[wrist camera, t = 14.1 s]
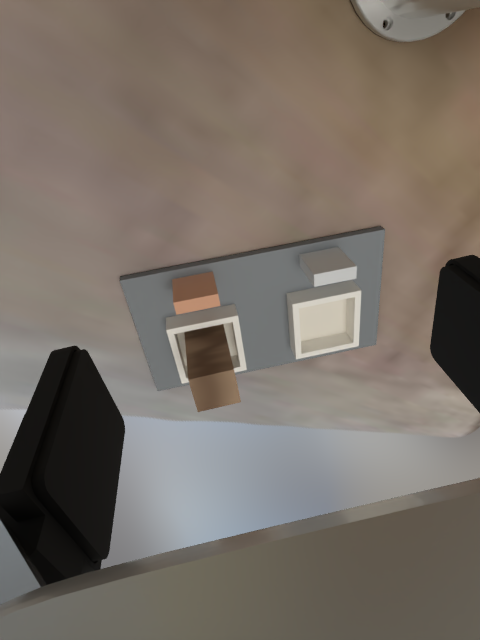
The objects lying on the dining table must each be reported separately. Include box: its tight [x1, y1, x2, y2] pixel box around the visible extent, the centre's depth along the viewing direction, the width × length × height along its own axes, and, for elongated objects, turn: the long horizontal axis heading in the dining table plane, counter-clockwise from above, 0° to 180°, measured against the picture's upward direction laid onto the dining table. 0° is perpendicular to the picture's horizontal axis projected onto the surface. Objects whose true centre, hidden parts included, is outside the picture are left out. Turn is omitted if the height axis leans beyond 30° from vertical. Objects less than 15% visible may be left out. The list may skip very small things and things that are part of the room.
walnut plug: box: [184, 324, 241, 412], centre depth 43 cm, size 4×4×9 cm
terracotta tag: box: [172, 271, 220, 315], centre depth 40 cm, size 4×1×5 cm, turn 98°
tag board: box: [120, 226, 385, 391], centre depth 46 cm, size 29×16×4 cm, turn 98°
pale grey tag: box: [299, 247, 357, 287], centre depth 41 cm, size 4×1×5 cm, turn 98°
